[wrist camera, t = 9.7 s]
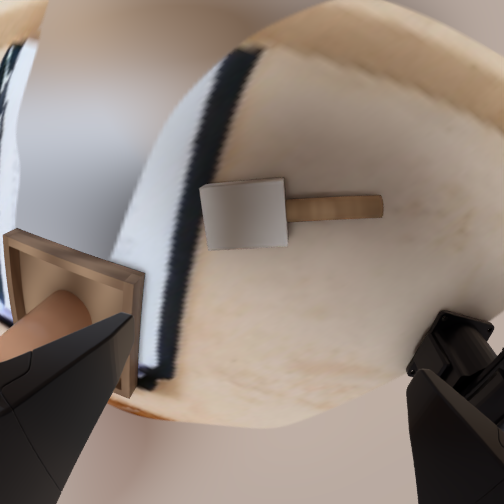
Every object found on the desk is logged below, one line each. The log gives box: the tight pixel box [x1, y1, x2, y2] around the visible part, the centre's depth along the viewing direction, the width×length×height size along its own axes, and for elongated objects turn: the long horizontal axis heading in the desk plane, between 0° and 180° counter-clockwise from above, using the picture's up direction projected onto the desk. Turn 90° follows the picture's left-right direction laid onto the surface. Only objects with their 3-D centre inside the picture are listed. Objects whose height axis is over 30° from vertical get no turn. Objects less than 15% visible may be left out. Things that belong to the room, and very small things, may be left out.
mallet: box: [199, 177, 383, 251], centre depth 20 cm, size 11×4×2 cm, turn 96°
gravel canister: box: [0, 290, 92, 362], centre depth 20 cm, size 5×5×12 cm
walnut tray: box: [3, 228, 145, 399], centre depth 25 cm, size 14×13×2 cm
